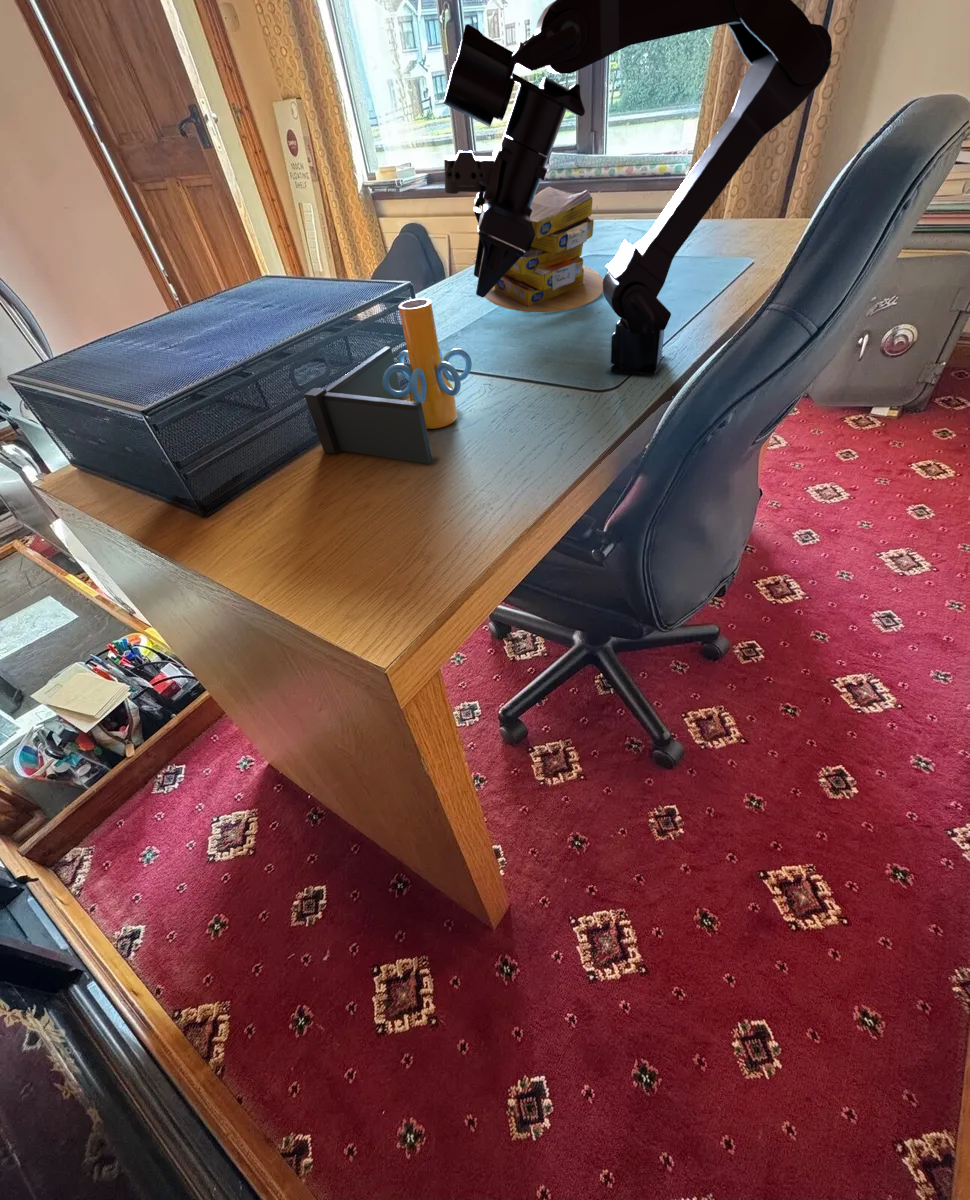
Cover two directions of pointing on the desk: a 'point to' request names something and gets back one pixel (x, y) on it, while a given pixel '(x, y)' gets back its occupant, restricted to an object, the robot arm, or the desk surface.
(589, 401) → the desk surface
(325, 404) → the corner bracket
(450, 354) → the cylinder
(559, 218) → the stacked yellow boxes
